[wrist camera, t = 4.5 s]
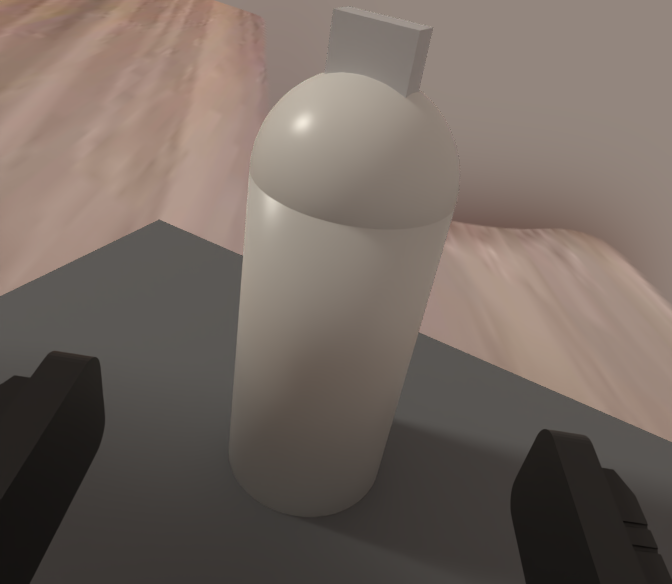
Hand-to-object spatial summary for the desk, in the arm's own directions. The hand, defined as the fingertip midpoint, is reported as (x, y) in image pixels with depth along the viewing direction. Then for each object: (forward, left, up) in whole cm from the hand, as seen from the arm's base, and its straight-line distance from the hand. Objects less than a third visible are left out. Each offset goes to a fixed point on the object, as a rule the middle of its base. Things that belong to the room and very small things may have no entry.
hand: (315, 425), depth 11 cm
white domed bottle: (-2, +4, -6) cm, 8 cm away
